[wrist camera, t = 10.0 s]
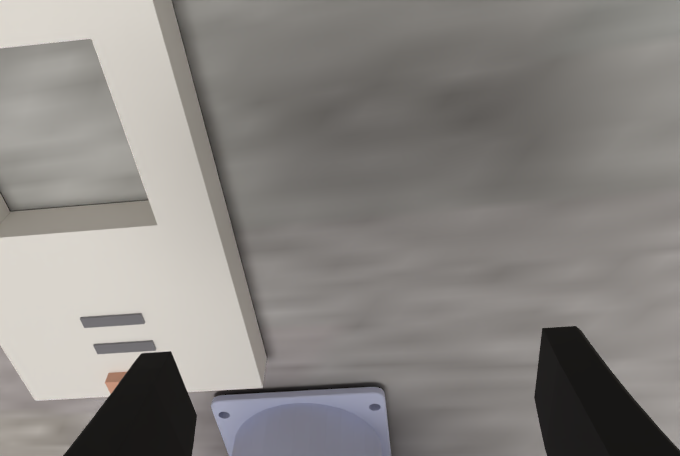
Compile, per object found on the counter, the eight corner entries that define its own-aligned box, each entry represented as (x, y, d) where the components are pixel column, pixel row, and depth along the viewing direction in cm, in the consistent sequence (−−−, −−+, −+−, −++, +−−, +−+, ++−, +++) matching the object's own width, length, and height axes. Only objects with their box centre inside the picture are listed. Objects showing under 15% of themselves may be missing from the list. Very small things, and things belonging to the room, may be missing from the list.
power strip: (266, 358, 28) (261, 397, 26) (49, 371, 29) (30, 410, 27) (147, -90, 17) (124, -73, 15) (-196, -48, 18) (-254, -28, 16)
